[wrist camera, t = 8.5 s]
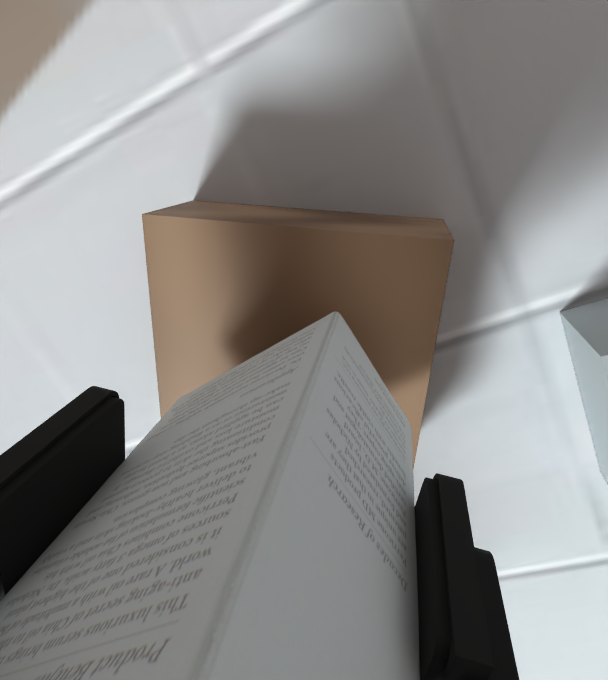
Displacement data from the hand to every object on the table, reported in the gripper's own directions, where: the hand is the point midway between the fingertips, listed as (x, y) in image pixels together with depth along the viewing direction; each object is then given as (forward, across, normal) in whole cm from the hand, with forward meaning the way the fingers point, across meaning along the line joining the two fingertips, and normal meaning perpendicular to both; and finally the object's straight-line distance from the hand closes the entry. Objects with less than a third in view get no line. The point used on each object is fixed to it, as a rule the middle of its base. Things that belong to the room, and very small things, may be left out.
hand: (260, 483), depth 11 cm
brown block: (+9, +1, -1) cm, 9 cm away
